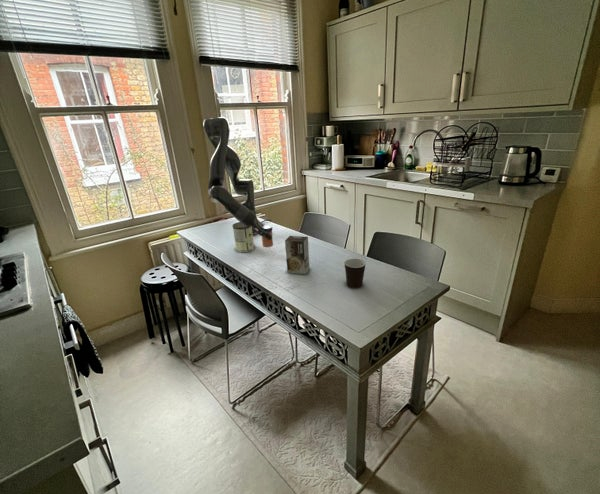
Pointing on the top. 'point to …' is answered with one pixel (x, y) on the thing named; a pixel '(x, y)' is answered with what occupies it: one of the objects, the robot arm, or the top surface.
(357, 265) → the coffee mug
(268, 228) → the lid
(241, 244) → the coffee can
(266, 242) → the jar
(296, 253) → the coffee box
